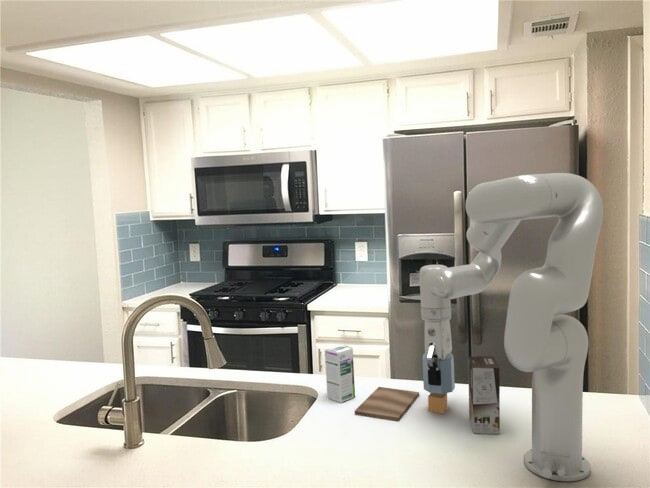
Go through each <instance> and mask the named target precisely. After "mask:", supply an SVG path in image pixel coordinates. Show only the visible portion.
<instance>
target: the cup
mask: <svg viewBox="0 0 650 488" xmlns="http://www.w3.org/2000/svg"><path fill="white" fill-rule="evenodd" d="M422 355H423V356H422V357H421V359H422V378H423V379H422V380H423V382H422V383H423V390H424V391H426V392H428V393H429V394H430V393H437V394H444V393H447V394H449V393H453V391H454V390H455V388H456V382H455V360H454V358H455V357H454V355H453V353H452V352H451V353H450V354H449V355H448V356H447V357H446V358H445V359H444V360H442V359H440V361H439V362H440V366H439V370H441V385H440V386H436V385H429V384H428V365H427V363H428V362H427V358H426V356H425V352H424V353H423V354H422ZM434 357H436V358H438V356H434ZM434 362H435V363H436V364H437V360H434Z"/></svg>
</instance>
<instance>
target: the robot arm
mask: <svg viewBox="0 0 650 488" xmlns="http://www.w3.org/2000/svg"><path fill="white" fill-rule="evenodd" d="M603 206H604V204H603V200H602V197H601V194H600V192H599V190H598V189H597V188H596V186H595V185H594V184H593V183H592V182H591V181H589V179H587V178H585V177H583V176H581V175H577V174H574V173H568V172H552V173H551V172H549V173H533V174H521V175H516V176H512V177H511V176H510V177H505V178H501V179H497V180H492V181H486V182H482V183H479V184H476V186H474V187H473V188H472V189H471V190H470V191H469V193H468V194H467V197H466V200H465V212H466V214H467V216H468V217H469V219H470V220H471V221H472V222H471V224H470V225H469V228H467V231H466V233H465V235H466V239H467V242H468V243H469V245H470V246H471V247H473V249H475V250H476V251H478V252H477V254H476V256H475V257H474V258H473V260H472V261H471V262H470V264H462V265H457V266H450V267H448V266H446V265H444V264H428V265H424V266H422V267H420V270H419V290H420V291H419V292H420V313H421V314H420V315H421V320H422V321H424V328H423V329H424V353H425V356H426V358H427V362H428V363H427V365H428V384H429V385H436V386H440V385H441V370H439V366H440V362H439V361H440V359H442V360H444V359H445V358H446V357H447V356H448V355H449V354H450V353H452V351H453V344H452V332H451V331H452V330H451V322H450V320H451V319H452V307H451V304H452V302H451V300H452V299H458V298H461V297H466V296H467V297H468V296H472V295H473V296H474V295H478V294H480V293H482V292H483V291H485V290H486V289H487V288H488V287H489V285H490V284H491V283H492V282H493V281H494V279H495V278H496V276H497V275H498V274H499V272H500V269H501V266H502V257H503V255H502V251H501V250H502V248H503V247H504V245H505V244H506V243H507V241H508V239H509V238H510V237H511V236H512V234H513V232H514V231H515V230H516V228H517V227H518V225H519V224H520V223H521V221H523V220H526V221H527V220H535V219H545V218H553V217H557V218H558V222H557V223H556V224H555V227H554V228H553V230H552V232H551V234H550V236H549V239H548V243H547V249H546V250H547V252H546V256H545V261H544V264H543V265H542V266H541V267H536V268H530V269H528V270H525V271H523V272H522V273H520V274H519V275H518V276H517V278H516V279H515V280H514V282H513V284H512V286H511V288H510V291H509V298H508V304H507V305H508V306H507V313H506V321H505V327H504V336H503V338H504V339H503V347H504V352H505V355H506V357H507V360H508V362H509V363H510V364H511V365H512V366H513V367H514V368H515V369H517V370H519V371H521V372H523V373H524V372H525V373H533V374H532V379H531V448H530V449H529V450H527V451H526V452H525V453H524V455H523V462H524V466H526V468H527V469H528V470H529V471H530V472H532V473H533V474H535V475H537V476H539V477H542V478H545V479H548V480H552V481H558V482H576V481H581V480H583V479H585V478H587V477H588V476H589V475H590V473H591V463H590V461H589V460H588V459H587V458H586V457H585V456H583V398H584V397H583V395H584V393H583V392H584V391H583V390H584V388H583V387H584V372H585V366H586V360H587V356H588V350H589V336H588V332H587V330H586V327H585V326H584V325H583V323H581V321H579V320H578V319H577V318H575V317H573V316H570V315H567V314H568V313H571V312H572V313H573V312H575V311H577V310H579V309H581V308H584V306H585V304H587V301H588V298H589V293H590V289H591V283H592V276H593V271H594V265H595V261H596V259H595V258H596V250H597V245H598V240H599V236H600V232H601V227H602V223H603V217H604V207H603ZM434 356H438V358H436V357H434ZM434 360H437V364H436V363H435V362H434Z"/></svg>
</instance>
